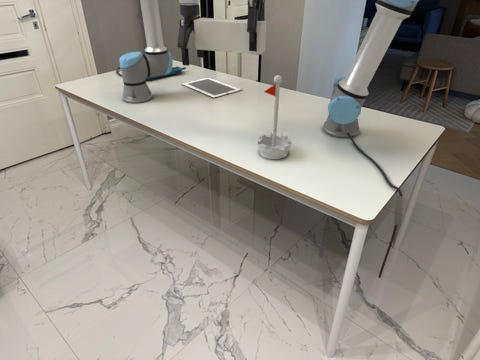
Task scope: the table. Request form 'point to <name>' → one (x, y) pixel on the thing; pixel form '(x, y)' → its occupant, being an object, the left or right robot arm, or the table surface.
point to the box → (227, 35)
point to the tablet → (211, 87)
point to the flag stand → (274, 131)
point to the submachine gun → (173, 71)
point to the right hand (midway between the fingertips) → (255, 48)
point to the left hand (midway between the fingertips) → (193, 61)
